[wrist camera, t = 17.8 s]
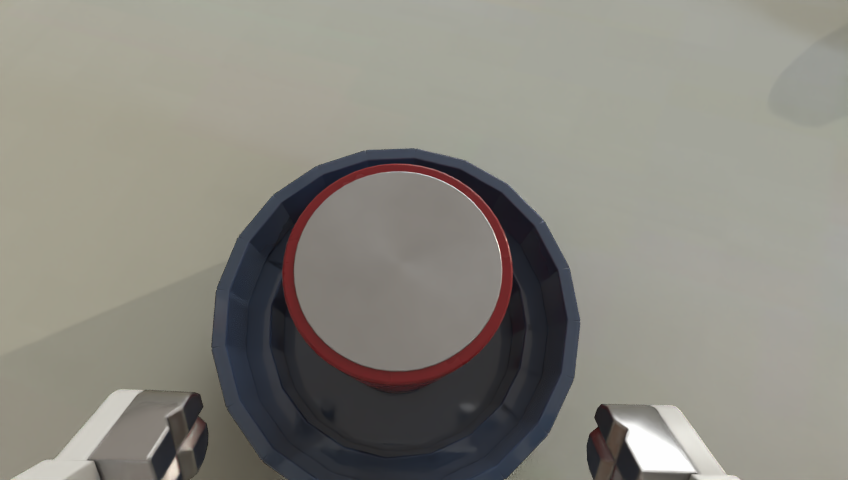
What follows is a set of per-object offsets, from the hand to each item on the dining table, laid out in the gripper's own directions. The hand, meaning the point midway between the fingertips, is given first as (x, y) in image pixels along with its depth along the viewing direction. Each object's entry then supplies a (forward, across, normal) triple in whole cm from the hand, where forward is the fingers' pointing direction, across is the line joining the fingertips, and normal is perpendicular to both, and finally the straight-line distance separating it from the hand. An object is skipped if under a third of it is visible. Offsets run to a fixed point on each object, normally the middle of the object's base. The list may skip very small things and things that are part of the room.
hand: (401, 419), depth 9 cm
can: (+10, 0, +5) cm, 11 cm away
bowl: (+10, 0, +5) cm, 11 cm away
